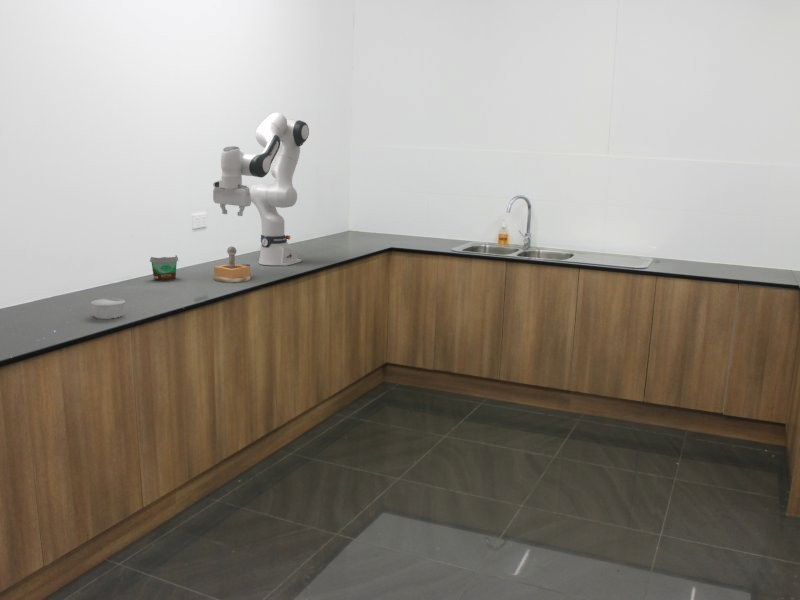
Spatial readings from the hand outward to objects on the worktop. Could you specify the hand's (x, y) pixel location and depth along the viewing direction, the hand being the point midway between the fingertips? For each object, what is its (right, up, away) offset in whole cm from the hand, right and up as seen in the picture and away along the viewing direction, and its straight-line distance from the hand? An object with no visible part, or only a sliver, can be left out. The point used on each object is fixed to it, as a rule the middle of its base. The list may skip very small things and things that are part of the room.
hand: (232, 215), depth 349 cm
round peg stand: (+1, -29, -5) cm, 29 cm away
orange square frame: (+2, -27, -4) cm, 27 cm away
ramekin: (-26, -44, -77) cm, 93 cm away
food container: (-26, -29, -11) cm, 41 cm away
